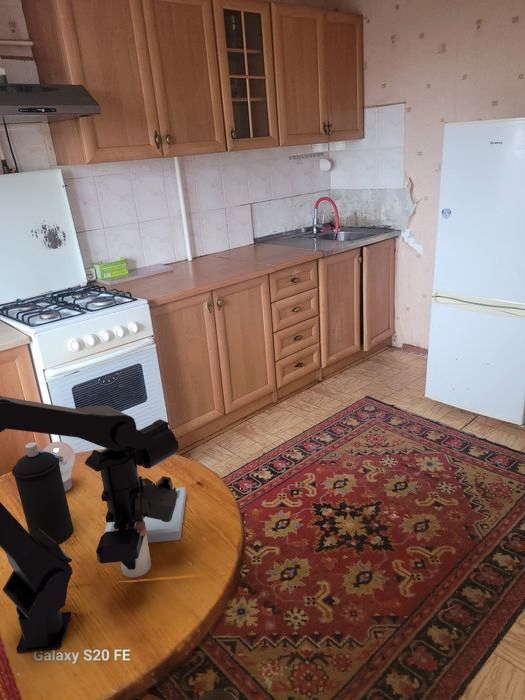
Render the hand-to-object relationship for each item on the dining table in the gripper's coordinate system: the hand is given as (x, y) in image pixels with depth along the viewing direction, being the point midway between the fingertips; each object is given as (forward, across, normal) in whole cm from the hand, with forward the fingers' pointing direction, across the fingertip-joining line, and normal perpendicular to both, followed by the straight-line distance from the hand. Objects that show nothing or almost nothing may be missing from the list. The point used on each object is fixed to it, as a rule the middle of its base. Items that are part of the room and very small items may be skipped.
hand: (135, 557), depth 93 cm
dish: (+2, +13, 0) cm, 13 cm away
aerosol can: (+3, +11, +18) cm, 21 cm away
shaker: (+2, 0, 0) cm, 2 cm away
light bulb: (+3, +26, +20) cm, 33 cm away
